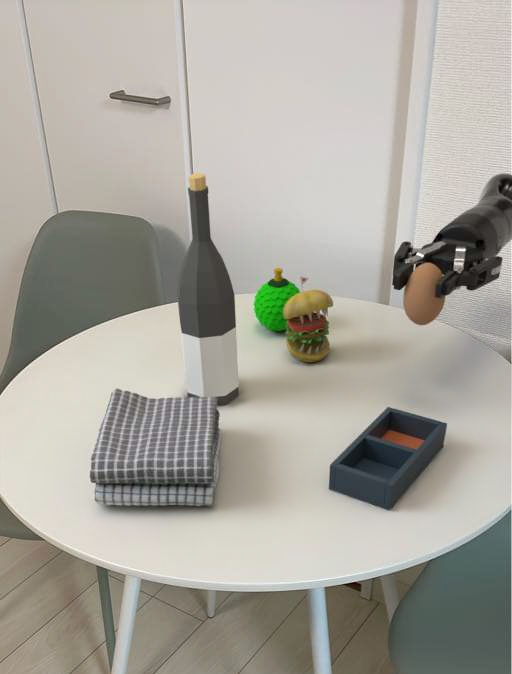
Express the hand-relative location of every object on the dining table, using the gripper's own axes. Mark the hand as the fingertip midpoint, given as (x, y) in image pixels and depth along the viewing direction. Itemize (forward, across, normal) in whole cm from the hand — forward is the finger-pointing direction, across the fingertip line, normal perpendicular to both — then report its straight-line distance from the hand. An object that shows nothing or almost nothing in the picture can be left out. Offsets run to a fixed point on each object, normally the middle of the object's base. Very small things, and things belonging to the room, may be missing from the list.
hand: (417, 286), depth 92 cm
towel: (+29, -20, +18) cm, 39 cm away
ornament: (-13, -29, +18) cm, 37 cm away
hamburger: (-8, -20, +18) cm, 28 cm away
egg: (-3, 0, +6) cm, 7 cm away
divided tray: (+13, +4, +18) cm, 22 cm away
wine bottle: (+10, -26, +18) cm, 33 cm away
